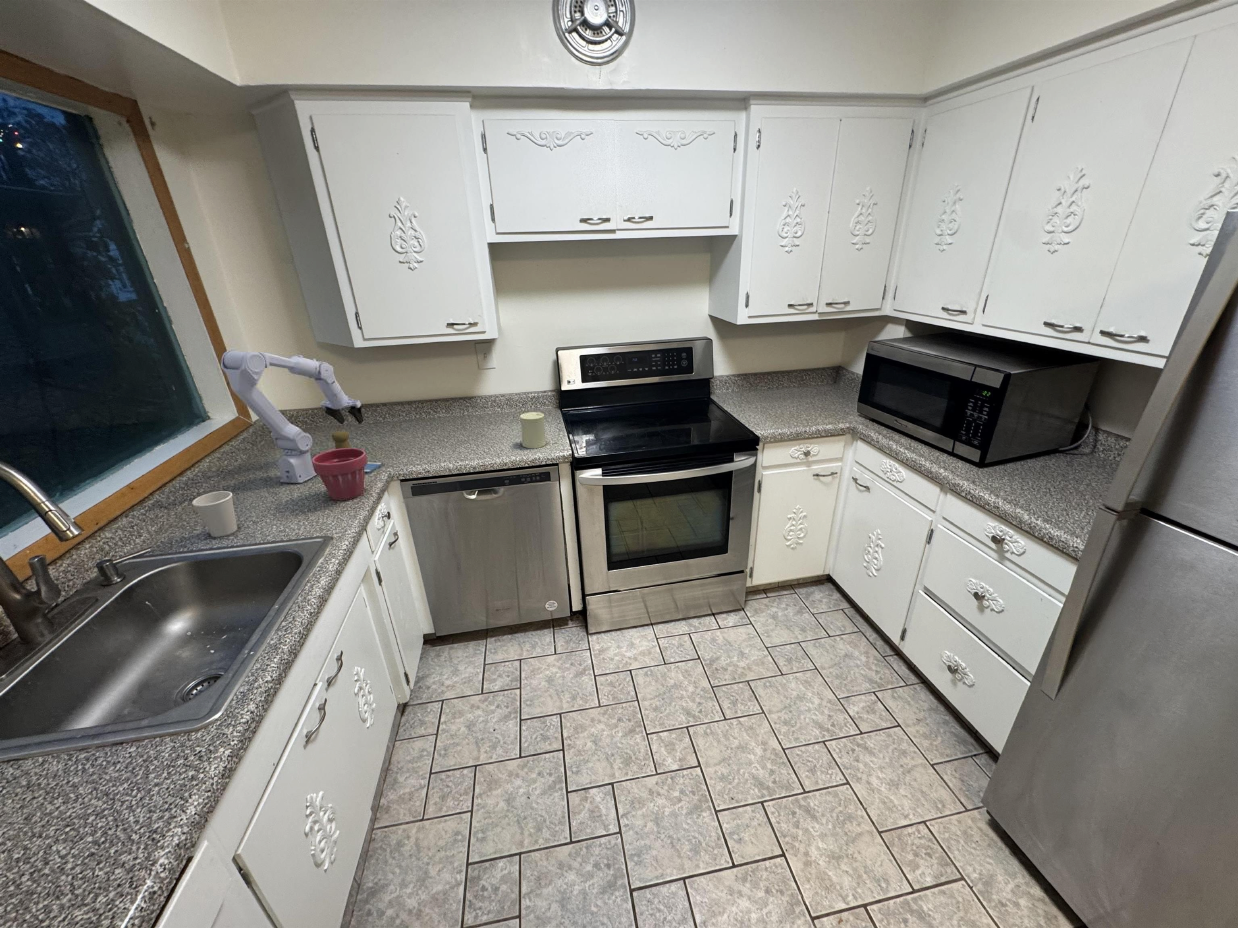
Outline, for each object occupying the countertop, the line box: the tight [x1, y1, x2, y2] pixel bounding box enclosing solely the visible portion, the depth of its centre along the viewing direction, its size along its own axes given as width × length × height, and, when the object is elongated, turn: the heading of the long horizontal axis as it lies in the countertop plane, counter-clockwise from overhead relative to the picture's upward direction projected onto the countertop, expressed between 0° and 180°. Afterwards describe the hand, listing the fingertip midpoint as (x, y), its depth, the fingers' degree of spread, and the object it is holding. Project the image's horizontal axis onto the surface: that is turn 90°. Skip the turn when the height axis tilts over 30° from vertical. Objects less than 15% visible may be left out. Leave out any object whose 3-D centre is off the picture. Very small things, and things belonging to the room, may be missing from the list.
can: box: [519, 411, 547, 449], centre depth 193 cm, size 9×9×12 cm
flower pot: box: [311, 447, 368, 501], centre depth 153 cm, size 14×14×13 cm
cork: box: [331, 430, 352, 449], centre depth 179 cm, size 6×6×11 cm
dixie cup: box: [191, 490, 238, 538], centre depth 132 cm, size 8×8×10 cm
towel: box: [364, 461, 384, 474], centre depth 174 cm, size 8×9×1 cm
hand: (352, 422), depth 185 cm, fingers open, 7 cm apart
